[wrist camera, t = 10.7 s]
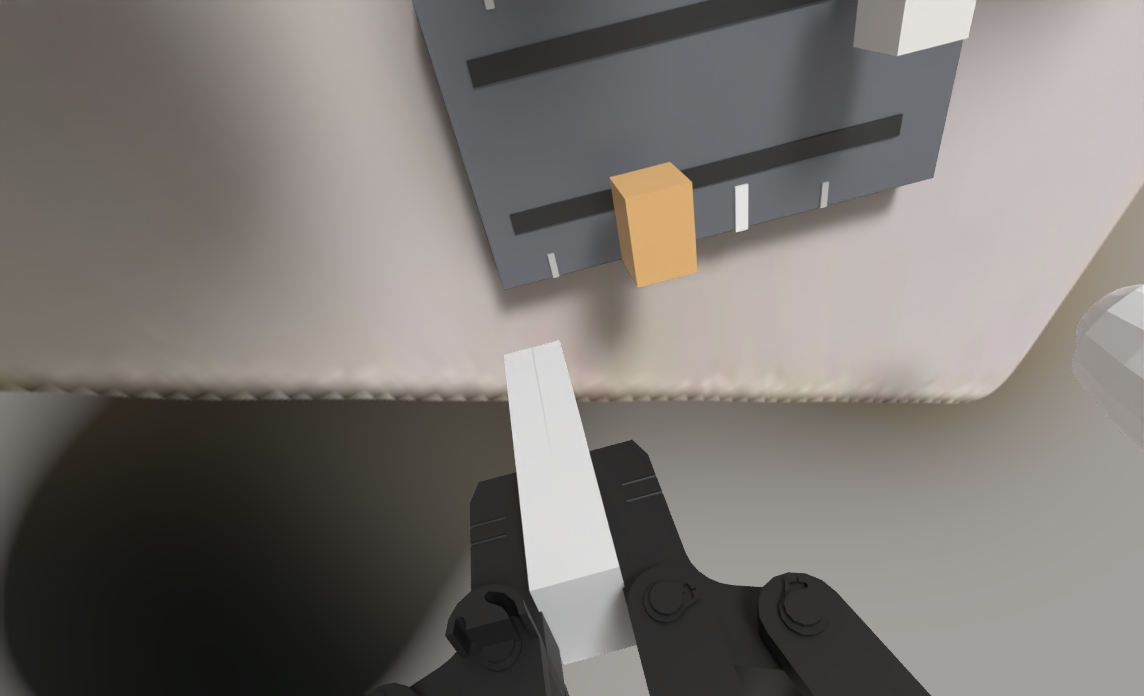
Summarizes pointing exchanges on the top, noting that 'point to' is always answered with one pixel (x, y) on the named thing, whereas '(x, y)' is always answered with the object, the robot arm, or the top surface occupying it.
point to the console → (672, 113)
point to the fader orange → (655, 223)
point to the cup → (1115, 359)
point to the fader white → (911, 24)
